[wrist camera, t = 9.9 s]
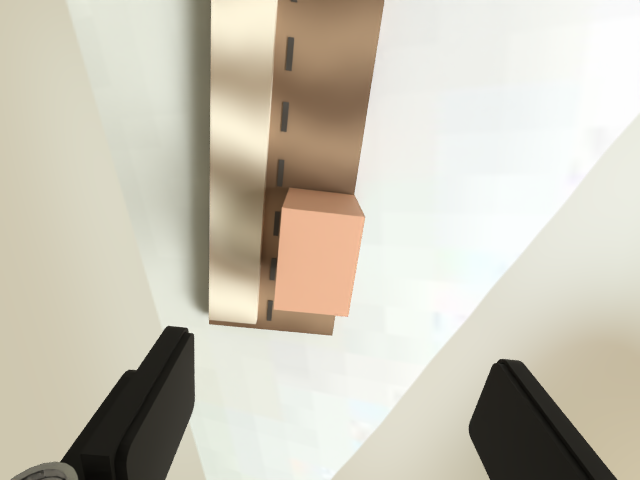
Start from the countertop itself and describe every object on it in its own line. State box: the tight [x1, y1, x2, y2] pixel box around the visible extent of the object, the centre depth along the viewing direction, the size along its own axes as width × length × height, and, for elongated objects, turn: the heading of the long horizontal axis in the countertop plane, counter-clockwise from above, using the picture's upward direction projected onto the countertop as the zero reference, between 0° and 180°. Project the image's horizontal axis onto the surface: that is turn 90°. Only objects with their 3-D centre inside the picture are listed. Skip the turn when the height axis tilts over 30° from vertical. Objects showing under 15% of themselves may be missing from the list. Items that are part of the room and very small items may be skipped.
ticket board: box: [209, 0, 384, 335], centre depth 26 cm, size 28×11×2 cm, turn 173°
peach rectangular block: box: [274, 188, 365, 317], centre depth 24 cm, size 7×5×6 cm
